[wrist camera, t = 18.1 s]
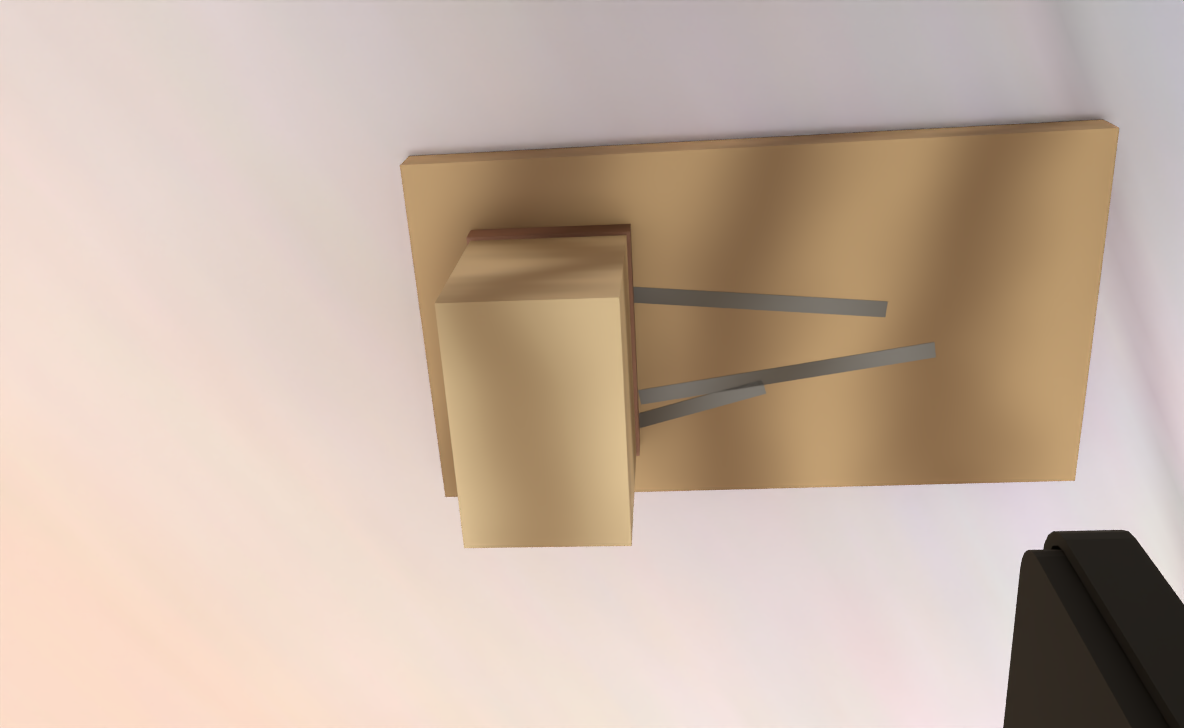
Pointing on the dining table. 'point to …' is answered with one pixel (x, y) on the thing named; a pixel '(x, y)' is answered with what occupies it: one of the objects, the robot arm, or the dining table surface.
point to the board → (821, 295)
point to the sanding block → (542, 385)
